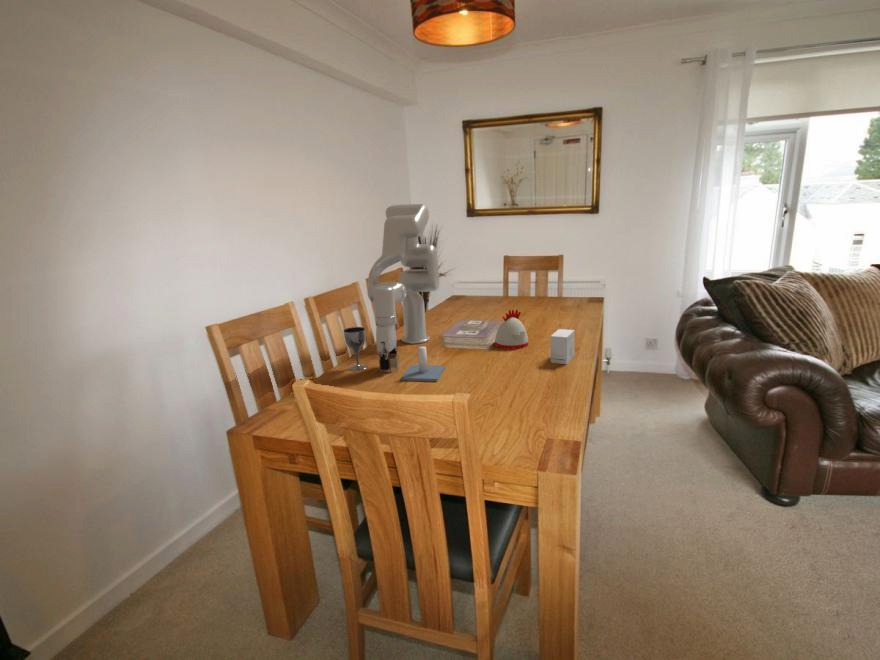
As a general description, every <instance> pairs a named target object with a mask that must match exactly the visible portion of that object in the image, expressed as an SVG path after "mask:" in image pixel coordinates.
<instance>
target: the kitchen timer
mask: <svg viewBox="0 0 880 660" xmlns="http://www.w3.org/2000/svg"><path fill="white" fill-rule="evenodd" d="M521 313H522V312H521V311H519V310H518V309H517V308H516V309H515V310H514V309H509V310H508V313H507V312H505V316H503V315H502V319H503V321H502V322H501V323H500V325H499V326H498V328H497V330H496V334H495V338H494V345H495V347H497V348H499V349H503V348H505V349H504V350H518V349H519V348H521V349H524V347H525V348H526V347H528V346H529V337H528V333H527V330H526V328H525V326H524V324H523V323H522V321H521V320H519V317H520V316H521ZM519 350H520V349H519Z"/></svg>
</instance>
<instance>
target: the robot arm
mask: <svg viewBox="0 0 880 660" xmlns="http://www.w3.org/2000/svg"><path fill="white" fill-rule="evenodd" d="M385 217H386V219H385V221H384V224H383V235H382V236H383V237H382V238H383V239H382V251H381V255H380V257H379V258H378V259H377V260H376V261H375V262H374V263H373V265H372V267H371V268H370V270H369V273H368V277H367V289H366V290H367V297H368V299H369V300H370V302H372V303H373V308H374V310H373V311H374V319H375V320H374V321H375V322H374V323H375V326H376V332H375V339H376V341H375V342H376V343H375V344H376V345H375V346H376V352H377V353H378V356H379V357H378V360H379V359H380V367H379V369H380V368H381V370H389V359H388V354H397V355H398V350H397V349H398V348H397V344H398V343H397V340H398V339H397V332H396V325H397V314H396V313H397V311H396V304H397V303H401V302H402V312H403V327H404V330H403V331H404V336H402V337H401V342H402V343H405V344H411V345H412V344H413V345H414V344H422V343H425V342H428V341H430V335H429V334H427V330H426V312H425V310H426V309H425V301H424V298H423V297H422V296H423V295H421V294H420V292H421V293H423V292H426V293H427V292H429V293H430V292H436V291H437V290H438V289H439V287H440V272H439V271H440V270H439V259H438V252H437V251H438V250H437V249H436V246H434V245H433V244H429V243H427V244H425V243H423V244H421V243H419V237H420V236H421V235H423V232H424V231H425V229H426V226H427V224H428V221H429V218H430V212H429V208H428V207H427V206H426V205H425V204H423V203H414V204H413V203H411V204H395V205H390V206H387V208H386V209H385ZM397 263H401V266H403V267H405V268H425V269H405V270H403V271H401V272H400V273H399V274H398V275H399V276H398V281H396V282H393V281H392V282H389V281H387V282H385V281H383V282H380V281H379V278H380V276H381V274H382V273H383V272H384V271H385V270H386V269H388V268H390V267H391V266H393V265H395V264H397ZM385 354H386V356H385Z"/></svg>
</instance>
